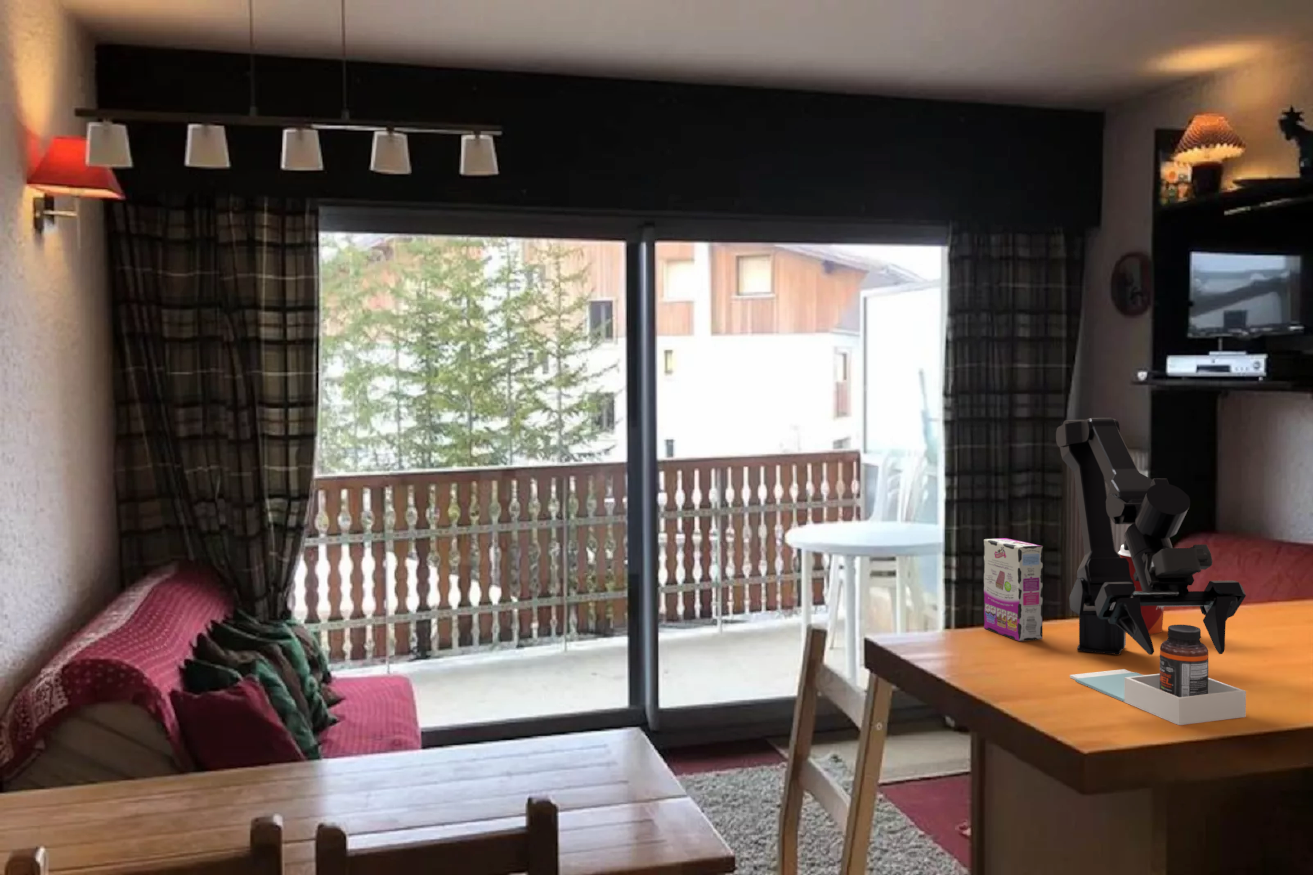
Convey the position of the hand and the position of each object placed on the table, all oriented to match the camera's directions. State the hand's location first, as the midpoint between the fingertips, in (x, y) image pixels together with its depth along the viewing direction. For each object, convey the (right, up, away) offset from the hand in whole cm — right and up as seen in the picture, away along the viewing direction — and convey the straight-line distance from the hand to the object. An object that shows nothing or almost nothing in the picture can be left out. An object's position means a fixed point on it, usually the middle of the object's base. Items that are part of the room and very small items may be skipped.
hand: (1186, 652), depth 145 cm
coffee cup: (+15, -5, +46) cm, 49 cm away
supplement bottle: (0, -8, +1) cm, 8 cm away
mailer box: (-1, -8, +8) cm, 11 cm away
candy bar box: (-8, -6, +45) cm, 46 cm away
